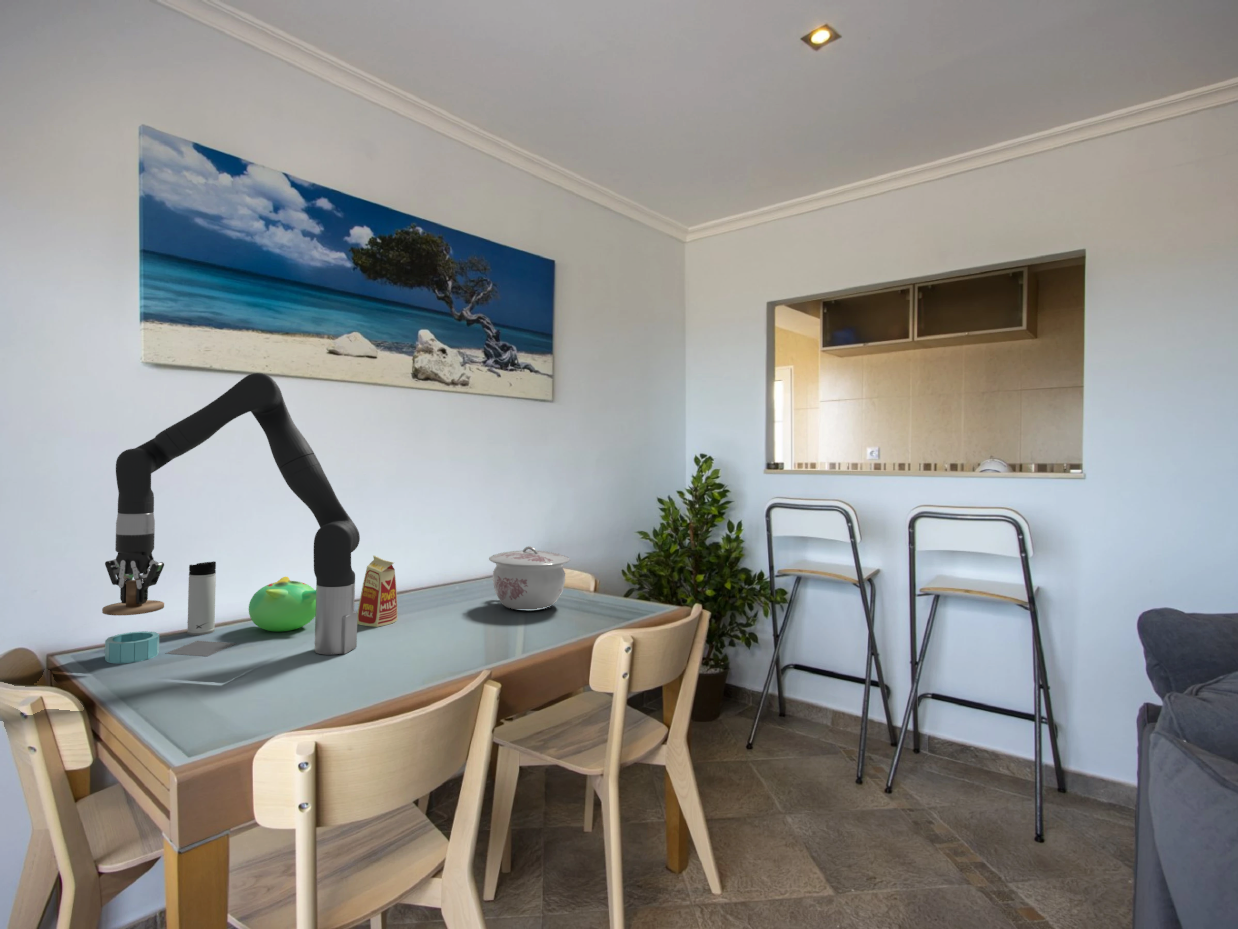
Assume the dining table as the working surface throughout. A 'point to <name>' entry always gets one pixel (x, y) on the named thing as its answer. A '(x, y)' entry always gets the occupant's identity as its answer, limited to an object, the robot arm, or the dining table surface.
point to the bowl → (131, 647)
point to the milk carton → (378, 595)
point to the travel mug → (201, 598)
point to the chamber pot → (528, 578)
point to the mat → (201, 648)
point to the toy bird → (283, 605)
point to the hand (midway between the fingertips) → (133, 602)
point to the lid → (132, 603)
